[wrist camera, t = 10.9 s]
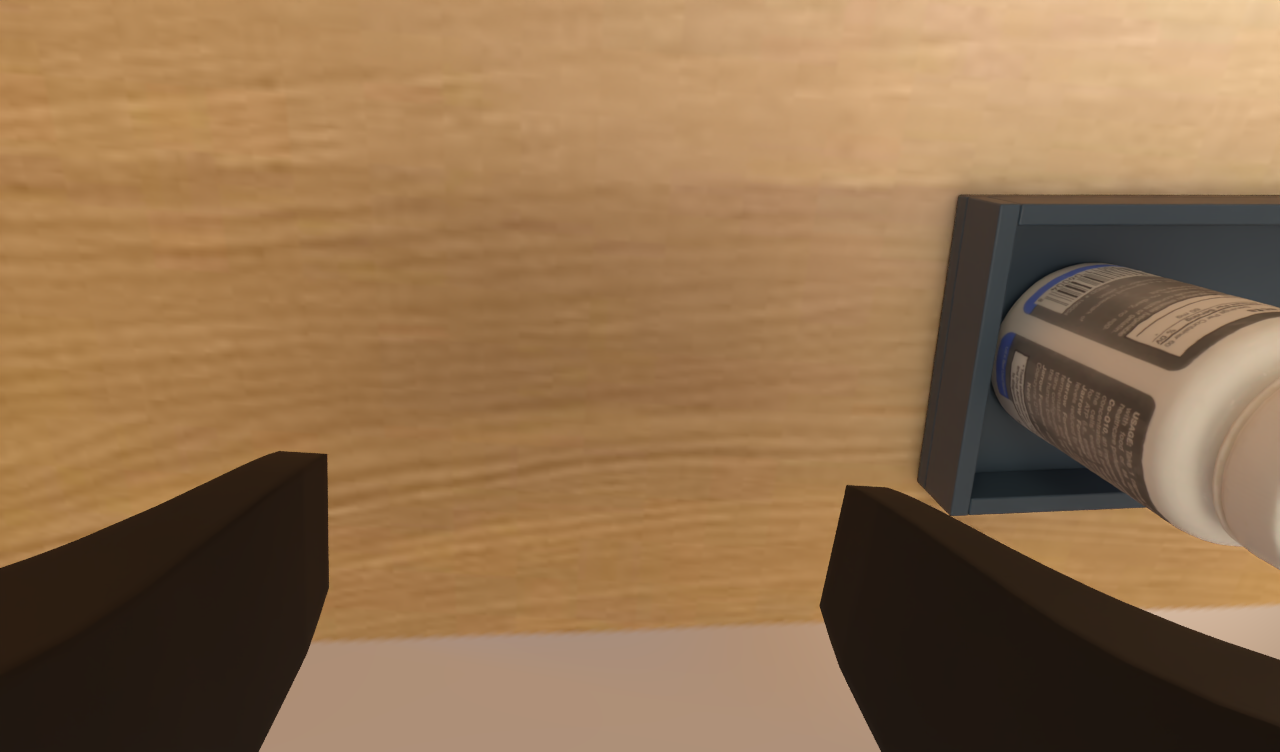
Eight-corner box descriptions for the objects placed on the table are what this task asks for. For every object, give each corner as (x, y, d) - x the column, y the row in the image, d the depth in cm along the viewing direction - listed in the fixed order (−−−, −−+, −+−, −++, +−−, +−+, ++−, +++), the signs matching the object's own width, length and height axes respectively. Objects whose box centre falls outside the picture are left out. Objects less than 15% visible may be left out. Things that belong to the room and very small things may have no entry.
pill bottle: (1094, 450, 22) (1405, 647, 14) (953, 398, 21) (1201, 577, 13) (1188, 294, 20) (1590, 413, 12) (1043, 231, 19) (1381, 315, 11)
